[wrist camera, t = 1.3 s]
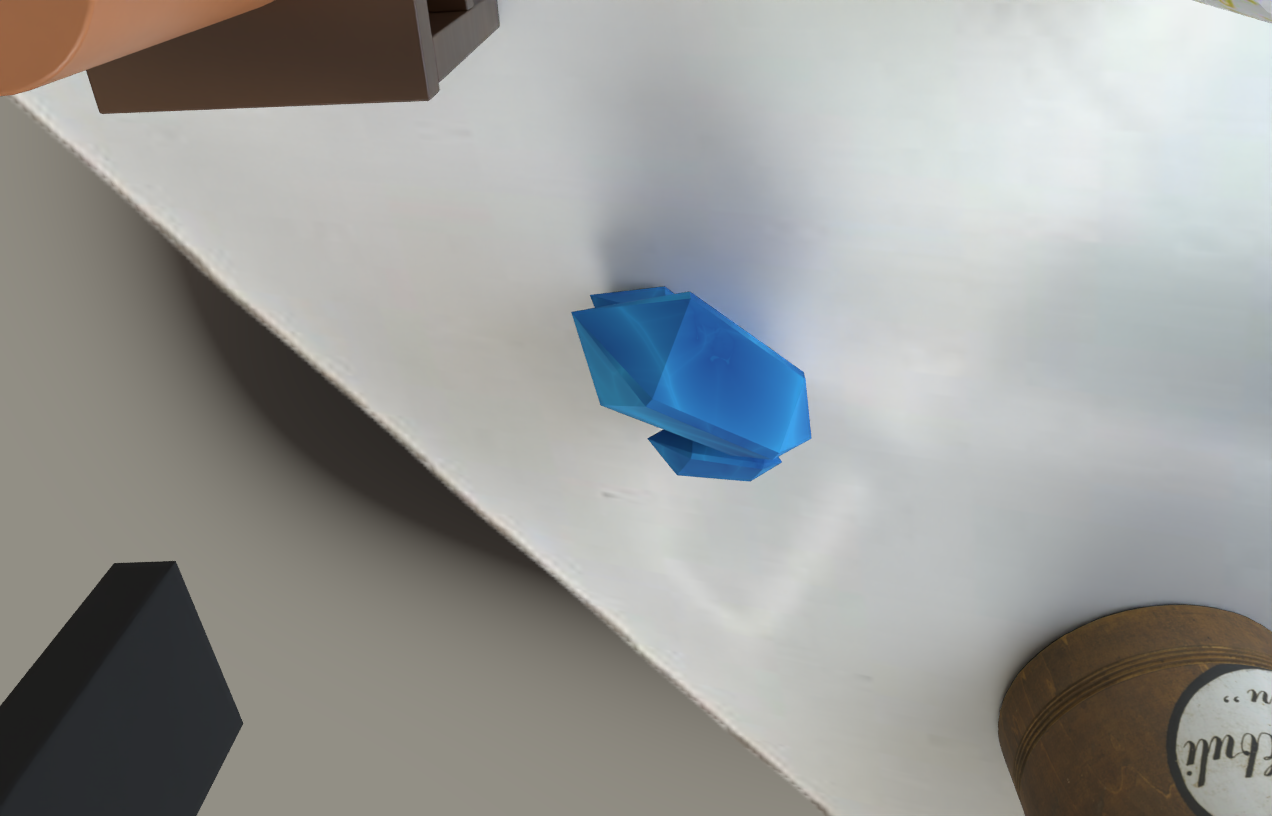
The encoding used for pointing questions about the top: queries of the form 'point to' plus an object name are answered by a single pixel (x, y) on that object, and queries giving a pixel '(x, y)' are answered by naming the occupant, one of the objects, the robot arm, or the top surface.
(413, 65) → the desk shelf
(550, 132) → the top surface
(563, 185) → the top surface
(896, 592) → the top surface
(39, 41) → the copper tin
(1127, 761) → the wooden container
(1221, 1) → the cup
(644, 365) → the crystal
